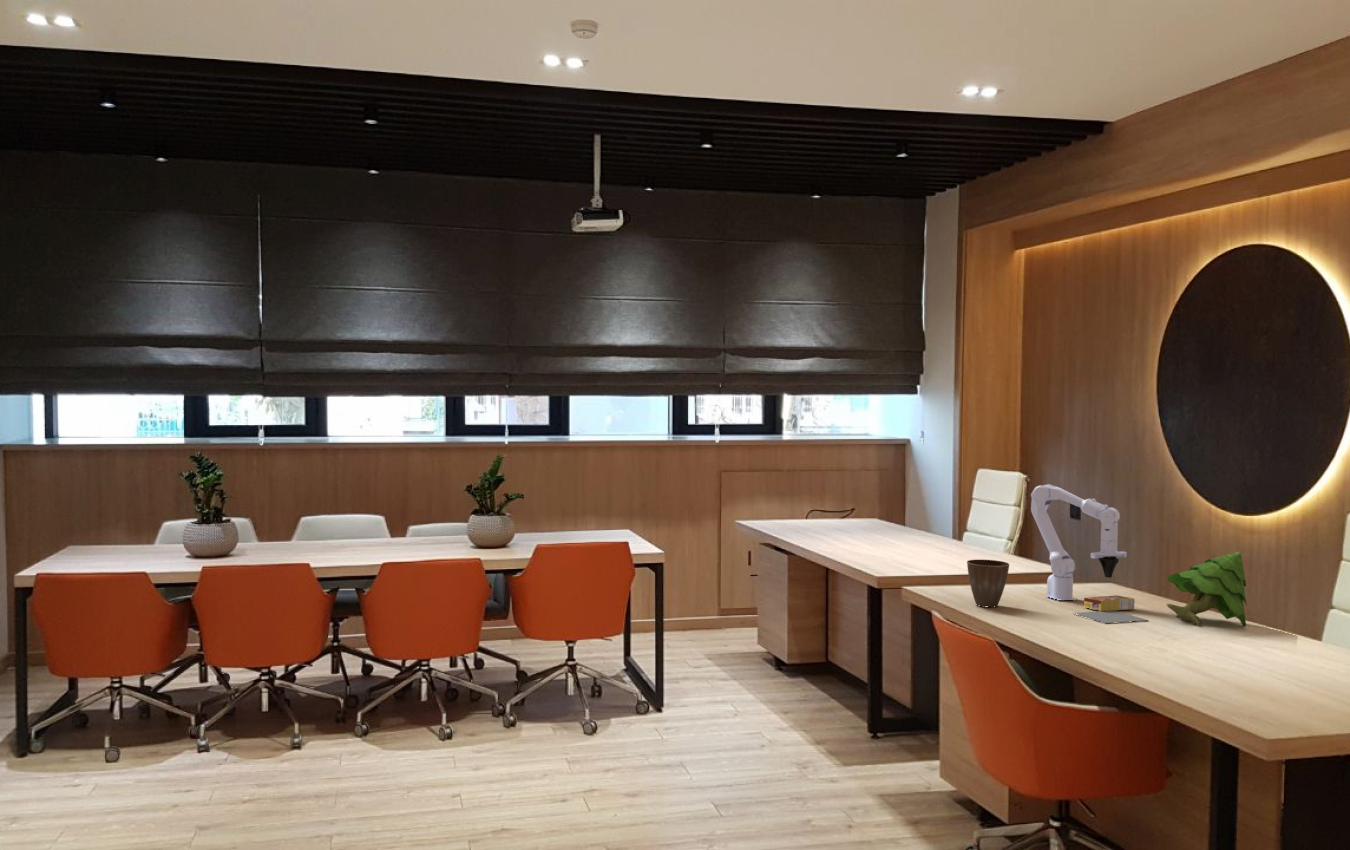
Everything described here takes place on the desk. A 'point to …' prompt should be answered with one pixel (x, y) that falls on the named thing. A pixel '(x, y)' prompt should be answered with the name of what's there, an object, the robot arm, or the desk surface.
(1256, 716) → the desk surface
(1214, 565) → the decorative tree
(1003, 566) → the plant pot
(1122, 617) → the rubber mat
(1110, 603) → the candy box
